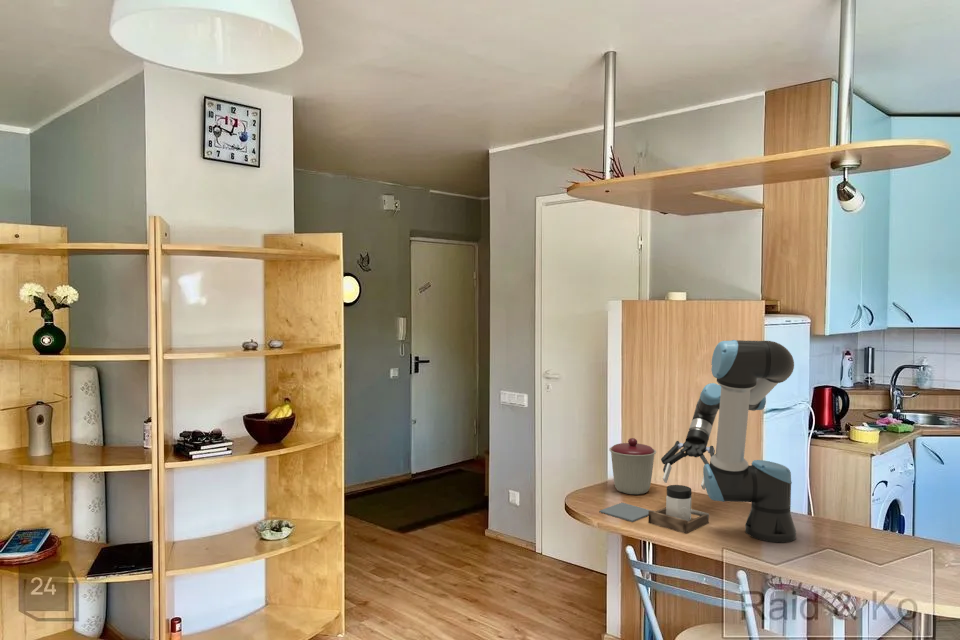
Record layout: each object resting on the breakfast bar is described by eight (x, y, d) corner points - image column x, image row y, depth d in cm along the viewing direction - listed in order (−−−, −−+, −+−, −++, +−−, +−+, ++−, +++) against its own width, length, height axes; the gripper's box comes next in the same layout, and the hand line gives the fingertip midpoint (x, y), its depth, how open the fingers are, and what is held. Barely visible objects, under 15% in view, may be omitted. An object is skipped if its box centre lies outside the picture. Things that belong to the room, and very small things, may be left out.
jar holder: (709, 522, 226) (709, 511, 226) (685, 533, 215) (686, 521, 215) (672, 512, 236) (672, 501, 236) (648, 522, 226) (648, 511, 225)
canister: (638, 500, 250) (639, 445, 249) (599, 490, 263) (600, 437, 263) (664, 491, 262) (665, 438, 261) (626, 482, 275) (627, 431, 275)
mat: (655, 513, 236) (655, 511, 236) (632, 522, 226) (632, 520, 226) (622, 504, 246) (622, 502, 246) (599, 512, 236) (599, 510, 236)
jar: (671, 527, 221) (671, 492, 221) (661, 519, 229) (661, 485, 229) (696, 526, 222) (697, 491, 222) (685, 518, 230) (686, 484, 230)
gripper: (735, 444, 237) (722, 496, 226) (668, 435, 252) (652, 483, 241) (731, 432, 233) (717, 484, 221) (663, 424, 248) (646, 472, 236)
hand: (683, 484), depth 231 cm, fingers open, 13 cm apart
